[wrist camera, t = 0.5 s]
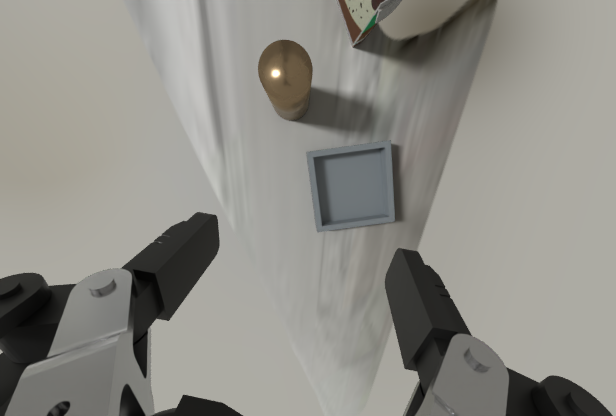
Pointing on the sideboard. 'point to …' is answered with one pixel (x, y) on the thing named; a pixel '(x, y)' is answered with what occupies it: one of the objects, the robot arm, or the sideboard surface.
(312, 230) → the sideboard surface
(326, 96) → the sideboard surface
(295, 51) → the bronze can
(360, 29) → the food container
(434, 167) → the sideboard surface
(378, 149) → the tray
